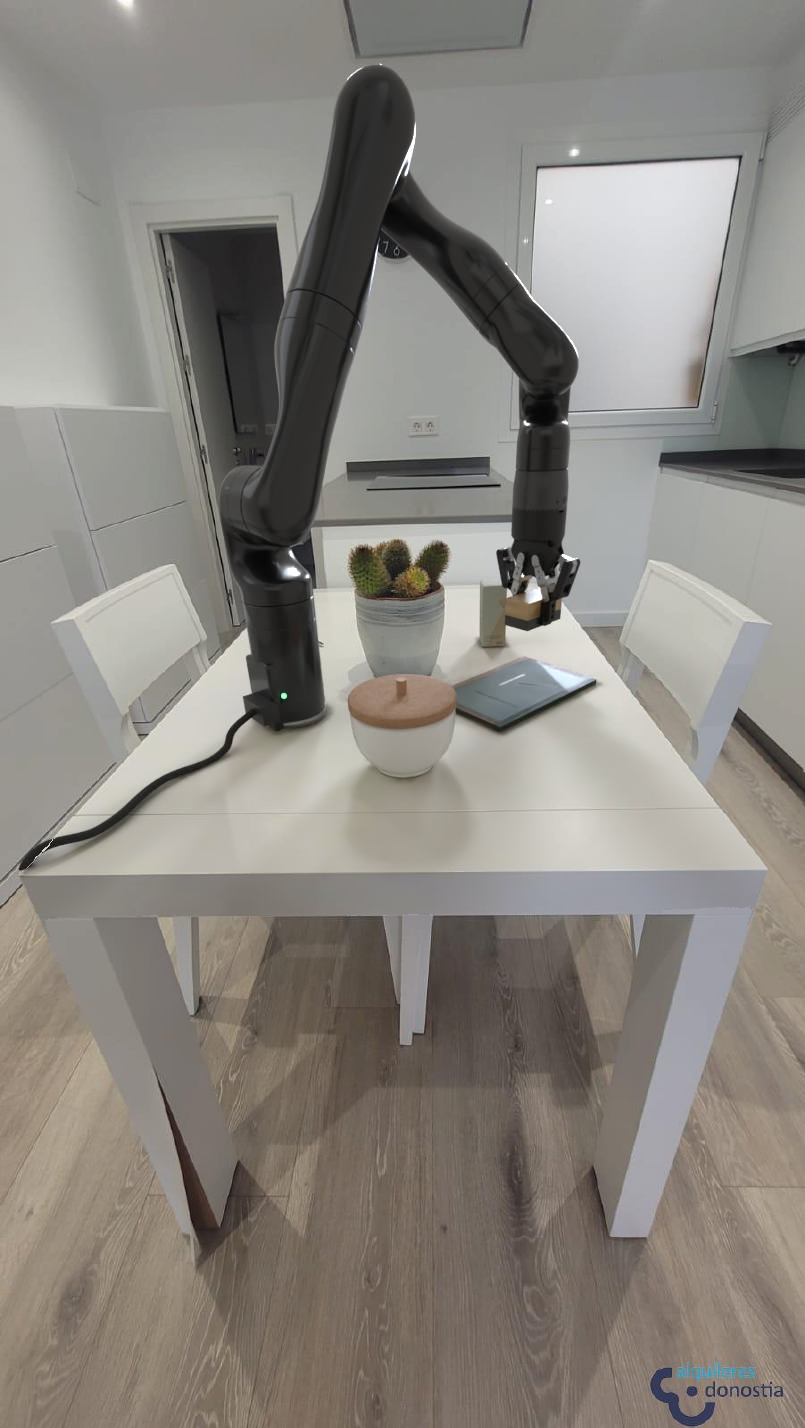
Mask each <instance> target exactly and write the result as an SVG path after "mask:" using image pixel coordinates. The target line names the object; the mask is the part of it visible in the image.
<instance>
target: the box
mask: <svg viewBox="0 0 805 1428" xmlns="http://www.w3.org/2000/svg"><path fill="white" fill-rule="evenodd" d="M506 598H508V588H503V587H502V582H501V578H498V579H481V580H479V634H478V636H479V637H478V638H479V642H480V645H481V647H505V646H506V635H507V634H506V632H507V631H506V629H507V628H506V627H507V625H505V604H506Z"/></svg>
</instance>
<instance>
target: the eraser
mask: <svg viewBox="0 0 805 1428" xmlns="http://www.w3.org/2000/svg"><path fill="white" fill-rule="evenodd" d="M542 601H543V600H542V595H541V590H540V587H537V588H533V589H531V590H526V591H525V592H524V593H521V594H518V595H515V596H513V595H511V596H507V598H506V604H505V625H506V627H511V628H514V629H517V630H521V631H525V632H530V631H532V630H535V629H537V628H540V627H543V626H542V625H540V610H541V602H542ZM562 603H563V598H561V599H559V600H557V601H556V609H555V618H554V621H552V623H553V622H557V621H559V620H561V615H562Z"/></svg>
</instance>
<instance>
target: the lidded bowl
mask: <svg viewBox="0 0 805 1428" xmlns="http://www.w3.org/2000/svg"><path fill="white" fill-rule="evenodd" d="M452 686H453V685H451V684H449V683H448V682H446V681H445V680H442V679H440V678H438V677H434V676H430V675H425V674H417V673H397V674H388V675H382V676H378V677H377V676H376V677H375V678H371V679H368V680H365V681H364V682H361V683H360V684H358V685H357V686H355V687H353V688H352V690H351V691H350V692H349V694H348V696H347V700H346V701H347V708H348V712H349V719H350V726H351V731H352V735H353V739H354V741H355V744H356V746H357V748H358V750H359V752H360V753H361V755H362V756H363V757H364V758H365V760H366V761H367V762H369V763H370V764H371V765H373V766H374V767H376V769H377V771H379V772H380V773H381V774H383V775H385V776H388V777H392V778H396V779H397V778H398V779H409V778H414V777H419V776H422V775H425V774H426V773H428V772H429V771H430V770H431V769H432V768H433V767H434V765H436V763H438V762H439V761H440V760H441V759H442V758H443V757H444V755H445V754H446V753H447V751H448V749H449V746H450V745H451V743H452V739H453V736H454V731H455V726H456V725H455V724H456V712H455V708H456V704H457V695H456V692H455V690H454V689H453V687H452Z"/></svg>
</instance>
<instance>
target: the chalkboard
mask: <svg viewBox="0 0 805 1428" xmlns="http://www.w3.org/2000/svg"><path fill="white" fill-rule="evenodd" d="M597 681H598V679H597V678H594V677H590V676H587V675H584V674H581V673H577V672H576V671H572V670H569V669H565V668H562V667H559V666H556V665H553V664H550V663H547V662H543V661H541V660H537V659H534V658H531V657H529V656H524V655H523V656H521V657H519V658H516V659H514V660H511V661H509V662H507V663H505V664H504V663H503V664H502V665H499V666H497V667H495V668H492V669H489V670H486V671H485V672H483V673H480V674H477V675H476V676H473V677H470V678H468V679H465V680H463V681H460V682H458V683H455V684H452V685H451V686H452V687H453V689H454V690H455V692H456V695H457V704H456V708H455V714H459V715H460V716H463V717H465V718H467V719H469V720H472V721H474V722H476V723H479V724H481V725H483V726H485V727H488V728H489V729H492V730H495V731H496V732H499V733H501V732H503V731H506V730H507V729H509V728H511V727H513V726H515V725H517V724H520V723H521V722H523V721H525V720H527V719H529V718H531V717H534V716H536V715H537V714H539V713H542V712H543V711H545V710H547V709H549V708H551V707H553V706H555V705H557V704H559V703H561V702H564V701H565V700H567V699H569V698H571V697H573V696H575V695H577V694H579V693H582V692H583V691H585V690H587V689H589V688H591V687H593V686H595V685H597Z"/></svg>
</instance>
